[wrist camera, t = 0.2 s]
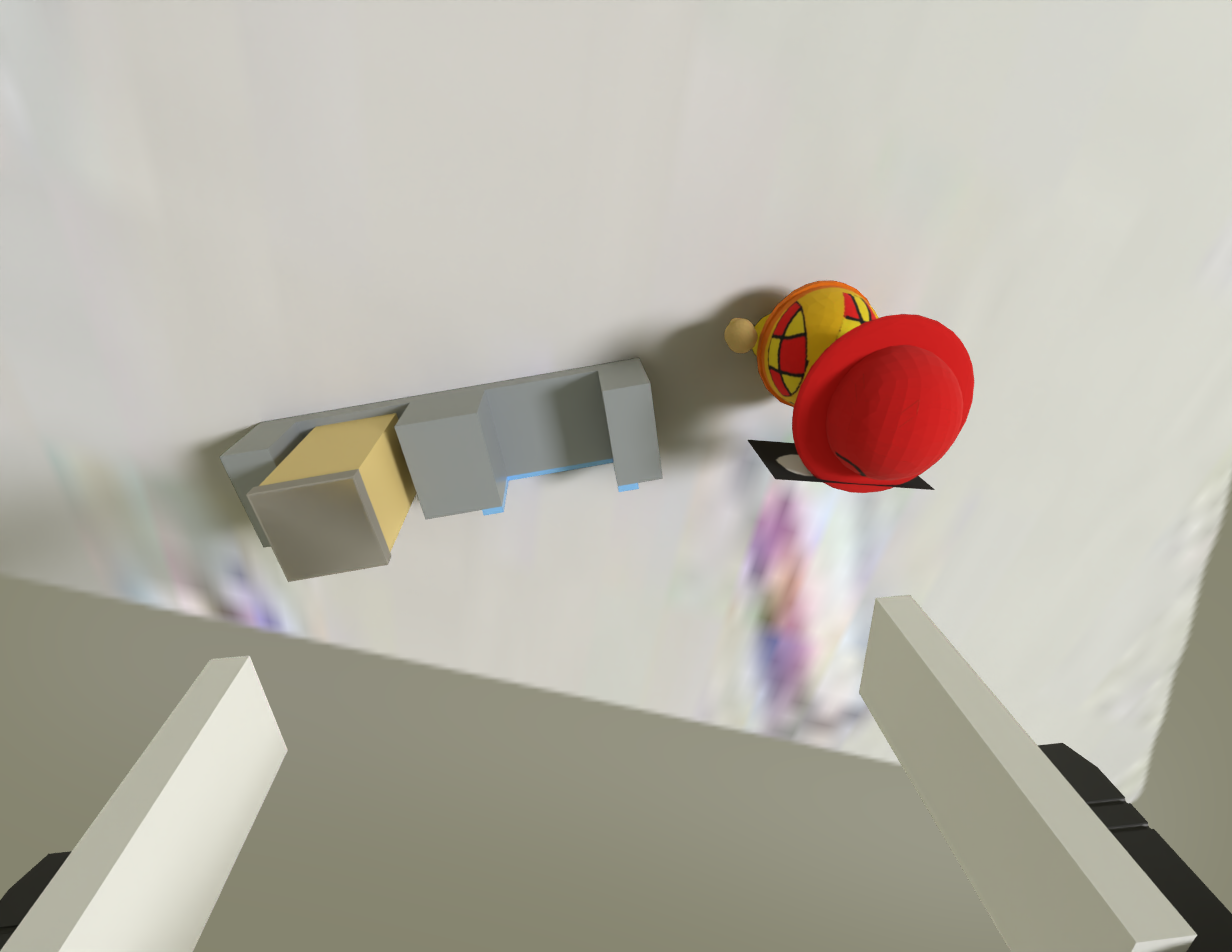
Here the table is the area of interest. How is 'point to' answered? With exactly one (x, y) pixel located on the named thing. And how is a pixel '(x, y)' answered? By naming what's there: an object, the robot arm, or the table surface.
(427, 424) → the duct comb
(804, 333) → the toy
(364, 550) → the tan yellow block
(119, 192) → the table surface
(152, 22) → the table surface
